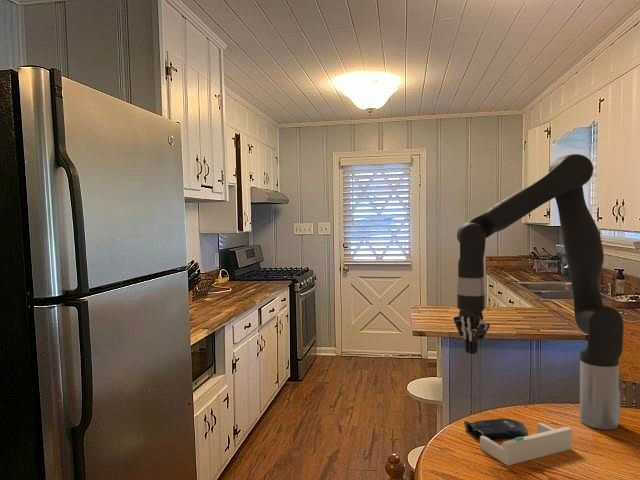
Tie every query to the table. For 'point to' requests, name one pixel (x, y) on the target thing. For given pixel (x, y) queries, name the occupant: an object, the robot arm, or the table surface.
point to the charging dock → (529, 445)
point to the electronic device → (497, 429)
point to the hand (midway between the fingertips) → (470, 352)
